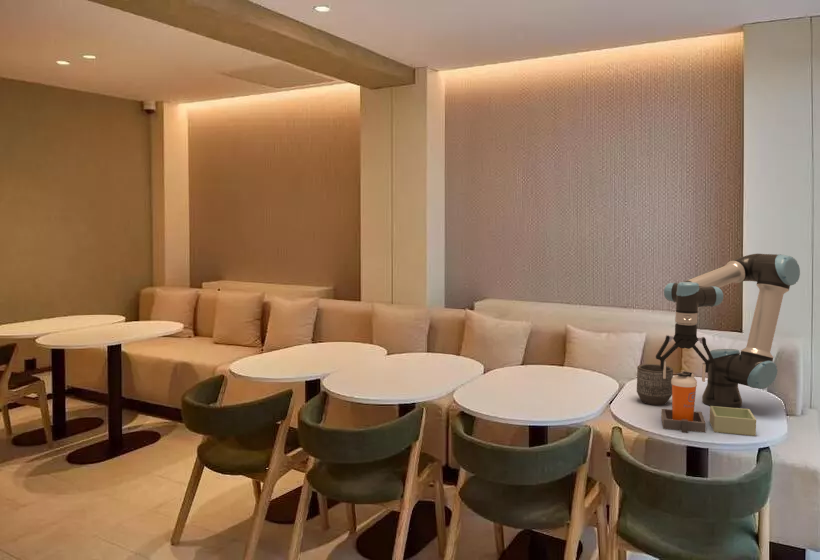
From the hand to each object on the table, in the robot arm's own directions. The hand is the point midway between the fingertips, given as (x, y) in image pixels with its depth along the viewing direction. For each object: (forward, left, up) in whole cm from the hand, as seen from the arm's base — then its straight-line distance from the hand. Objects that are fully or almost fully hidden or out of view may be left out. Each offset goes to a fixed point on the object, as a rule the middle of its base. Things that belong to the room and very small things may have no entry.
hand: (683, 379), depth 242 cm
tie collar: (+1, 0, -18) cm, 18 cm away
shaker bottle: (0, 0, -18) cm, 18 cm away
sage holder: (-1, +17, -18) cm, 25 cm away
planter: (-29, -9, -18) cm, 35 cm away
